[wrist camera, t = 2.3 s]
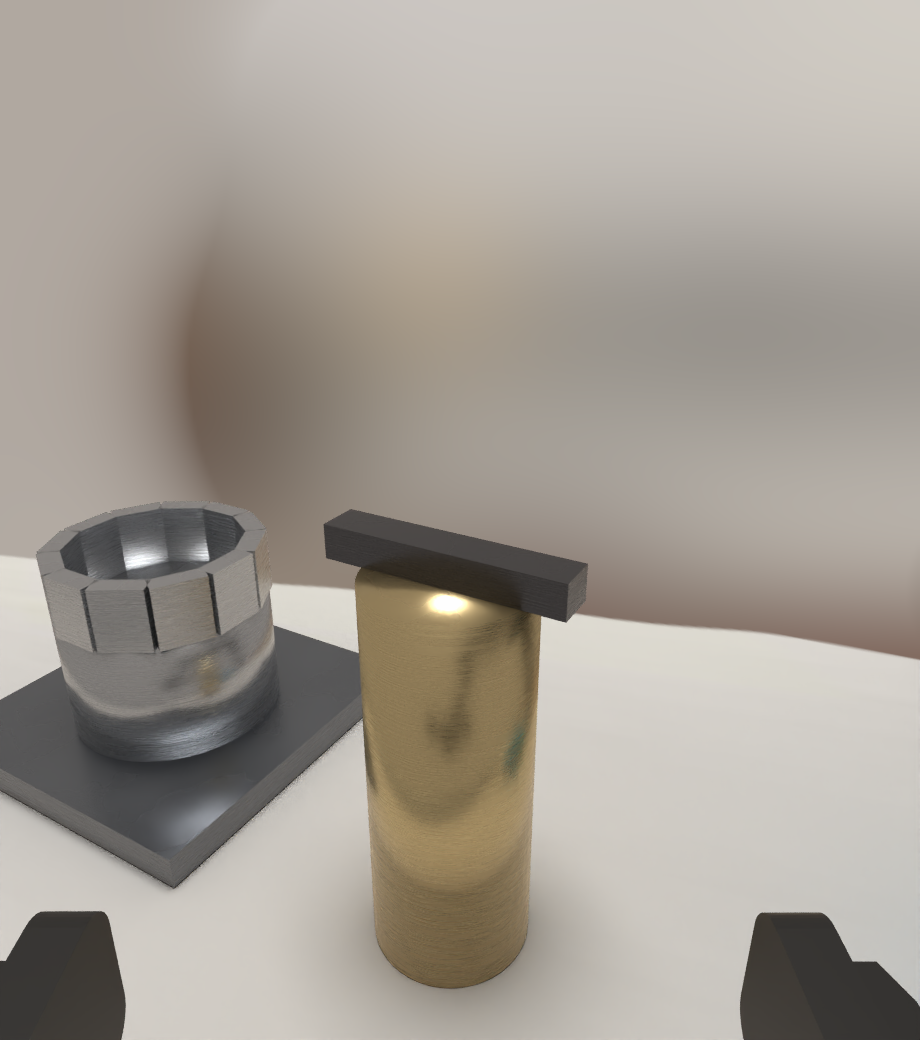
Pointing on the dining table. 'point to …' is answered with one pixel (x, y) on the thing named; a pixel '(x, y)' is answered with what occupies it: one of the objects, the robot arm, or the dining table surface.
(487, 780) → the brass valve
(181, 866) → the pipe socket
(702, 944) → the dining table surface
